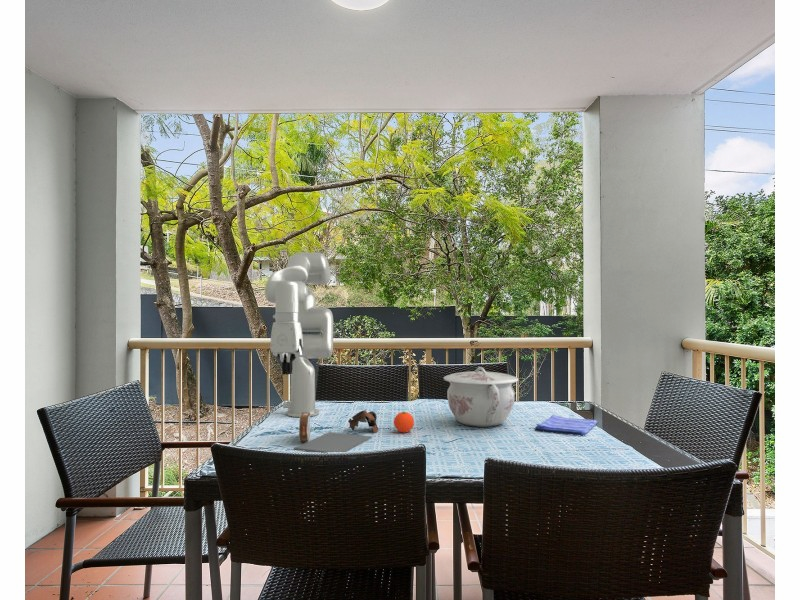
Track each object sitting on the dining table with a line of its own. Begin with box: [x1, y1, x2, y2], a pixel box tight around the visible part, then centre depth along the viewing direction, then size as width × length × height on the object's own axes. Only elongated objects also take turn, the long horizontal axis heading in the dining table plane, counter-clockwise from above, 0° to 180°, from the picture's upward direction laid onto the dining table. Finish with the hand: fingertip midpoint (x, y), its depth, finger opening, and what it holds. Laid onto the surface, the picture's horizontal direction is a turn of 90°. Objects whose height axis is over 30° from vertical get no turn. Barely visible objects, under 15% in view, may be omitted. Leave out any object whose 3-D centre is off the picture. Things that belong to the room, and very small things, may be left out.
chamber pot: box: [443, 366, 519, 428], centre depth 214 cm, size 28×28×21 cm
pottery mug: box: [348, 409, 379, 434], centre depth 203 cm, size 12×10×8 cm
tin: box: [298, 412, 311, 443], centre depth 190 cm, size 15×3×8 cm, turn 5°
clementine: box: [393, 411, 415, 433], centre depth 201 cm, size 8×7×7 cm
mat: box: [293, 431, 373, 453], centre depth 185 cm, size 16×22×1 cm
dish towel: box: [534, 414, 598, 437], centre depth 208 cm, size 17×24×3 cm
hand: (287, 373), depth 192 cm, fingers closed
